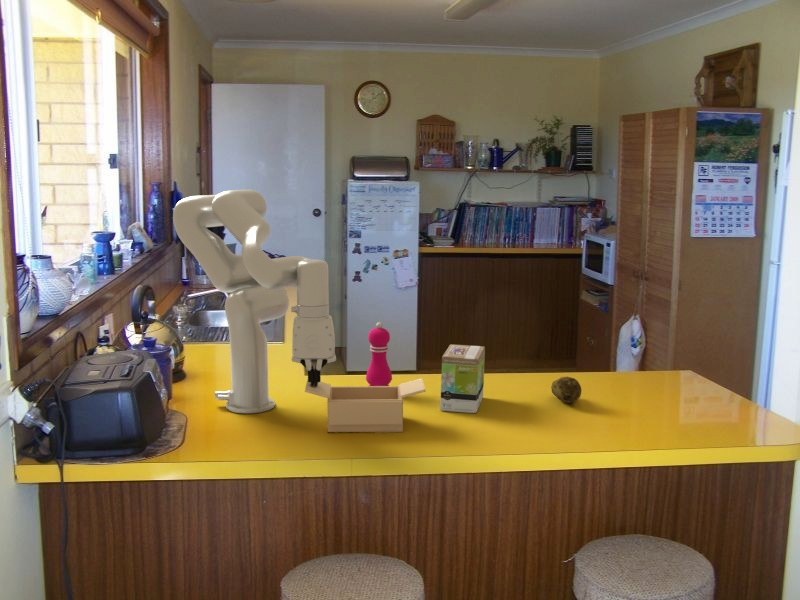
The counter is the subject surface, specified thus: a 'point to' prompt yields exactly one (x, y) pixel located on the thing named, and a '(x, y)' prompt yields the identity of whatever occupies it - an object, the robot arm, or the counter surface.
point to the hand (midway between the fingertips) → (314, 384)
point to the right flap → (412, 388)
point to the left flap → (319, 389)
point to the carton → (365, 409)
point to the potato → (566, 389)
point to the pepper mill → (379, 357)
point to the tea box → (462, 378)
